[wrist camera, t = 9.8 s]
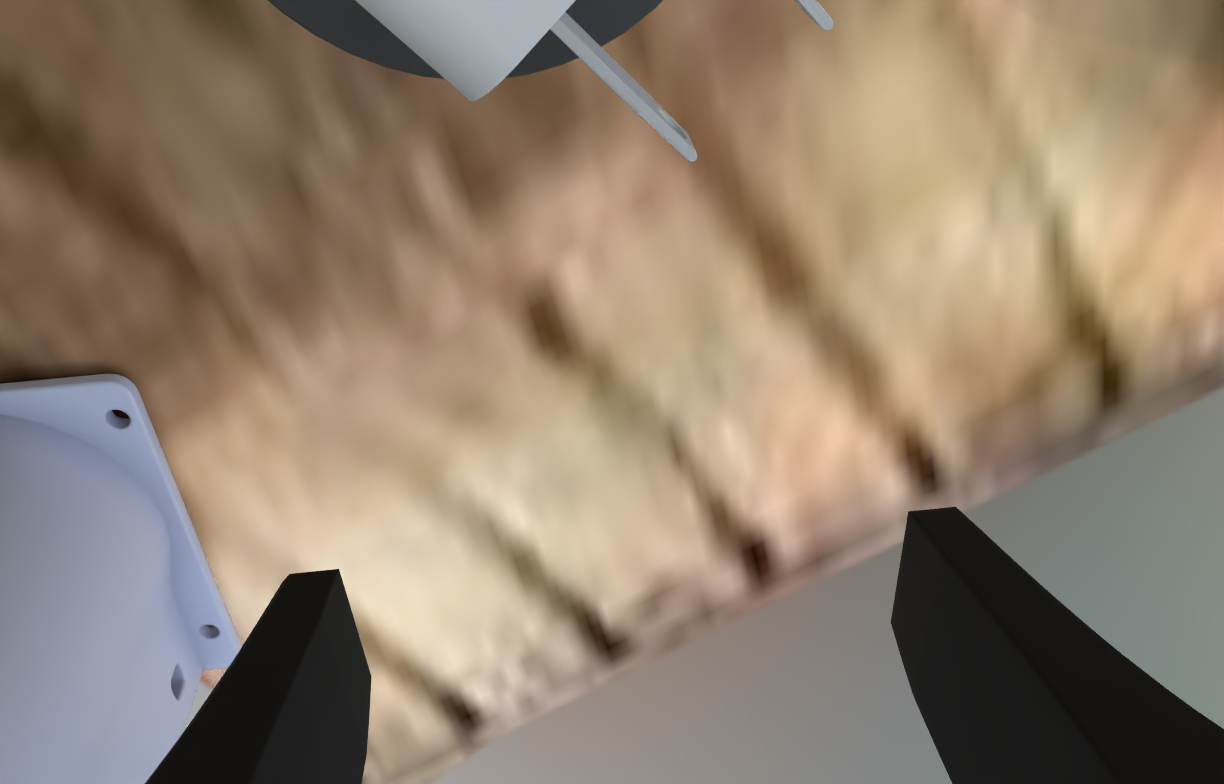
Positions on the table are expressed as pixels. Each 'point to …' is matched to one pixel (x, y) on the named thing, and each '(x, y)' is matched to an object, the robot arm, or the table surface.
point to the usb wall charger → (520, 47)
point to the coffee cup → (333, 15)
